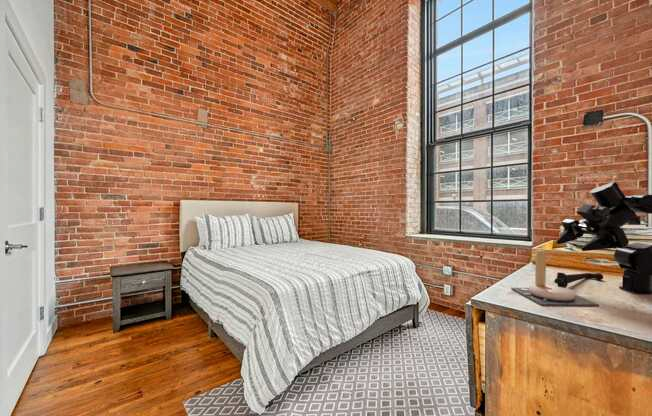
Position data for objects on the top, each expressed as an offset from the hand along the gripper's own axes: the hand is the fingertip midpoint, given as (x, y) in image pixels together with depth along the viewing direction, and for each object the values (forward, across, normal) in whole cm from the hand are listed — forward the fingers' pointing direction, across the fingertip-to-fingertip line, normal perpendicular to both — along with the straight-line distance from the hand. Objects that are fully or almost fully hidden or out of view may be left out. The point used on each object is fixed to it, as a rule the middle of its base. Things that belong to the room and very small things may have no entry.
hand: (568, 246), depth 94 cm
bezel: (+15, +6, +7) cm, 18 cm away
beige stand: (+15, +6, +7) cm, 18 cm away
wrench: (0, -4, +17) cm, 17 cm away
